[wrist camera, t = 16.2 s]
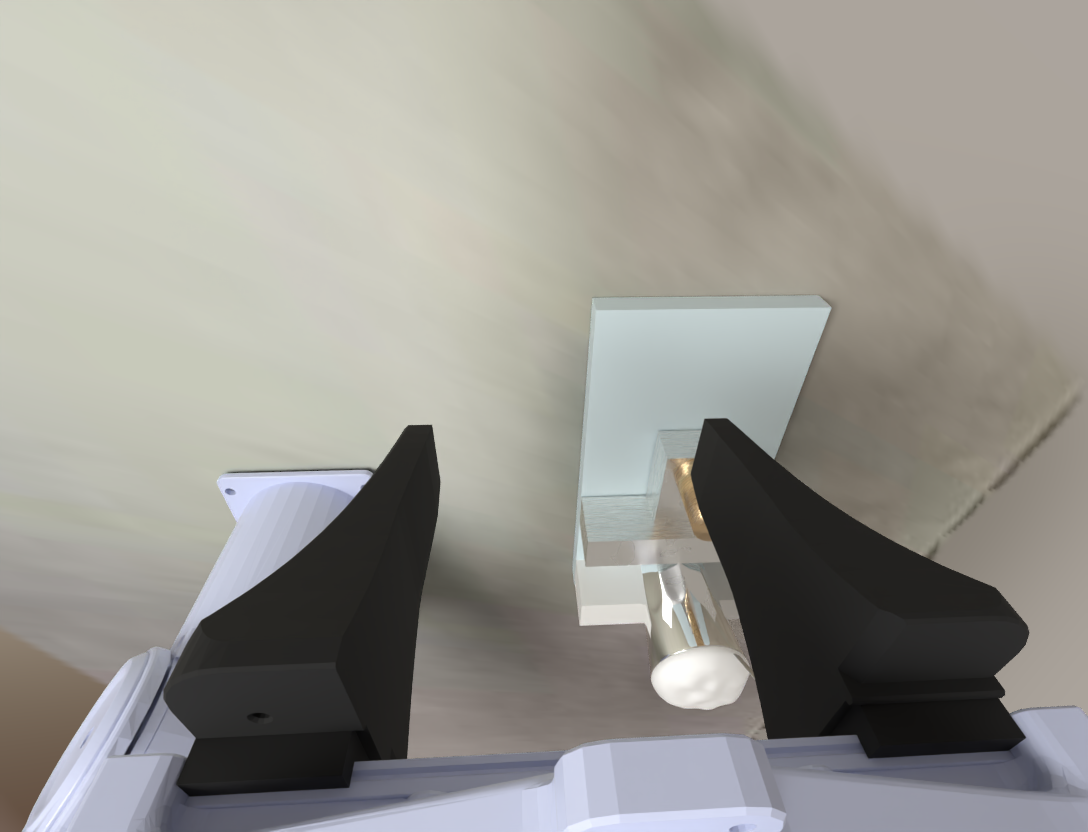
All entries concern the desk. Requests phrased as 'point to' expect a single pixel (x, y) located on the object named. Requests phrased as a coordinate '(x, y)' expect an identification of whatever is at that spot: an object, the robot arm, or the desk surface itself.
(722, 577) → the pale blue stepped plate
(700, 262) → the desk surface
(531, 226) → the desk surface
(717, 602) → the milkshake
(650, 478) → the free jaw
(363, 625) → the robot arm
